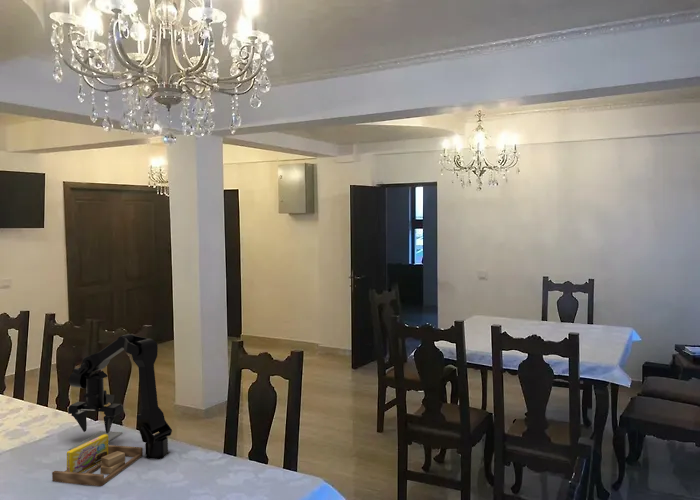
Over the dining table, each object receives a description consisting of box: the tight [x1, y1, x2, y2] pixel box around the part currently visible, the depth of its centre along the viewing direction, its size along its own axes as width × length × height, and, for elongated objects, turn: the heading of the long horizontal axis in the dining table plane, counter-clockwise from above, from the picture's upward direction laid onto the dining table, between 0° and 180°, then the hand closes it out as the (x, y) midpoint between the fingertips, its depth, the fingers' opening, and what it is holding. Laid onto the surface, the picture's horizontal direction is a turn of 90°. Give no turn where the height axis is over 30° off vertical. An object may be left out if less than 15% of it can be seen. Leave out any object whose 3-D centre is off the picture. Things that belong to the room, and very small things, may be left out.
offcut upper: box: [100, 451, 126, 467], centre depth 179 cm, size 4×6×2 cm, turn 149°
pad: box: [68, 430, 123, 451], centre depth 203 cm, size 9×18×1 cm, turn 169°
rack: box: [51, 444, 144, 487], centre depth 180 cm, size 17×22×3 cm
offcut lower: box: [99, 460, 126, 475], centre depth 179 cm, size 4×7×2 cm, turn 169°
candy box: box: [66, 434, 109, 473], centre depth 181 cm, size 16×2×8 cm, turn 162°
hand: (96, 432), depth 202 cm, fingers open, 9 cm apart
